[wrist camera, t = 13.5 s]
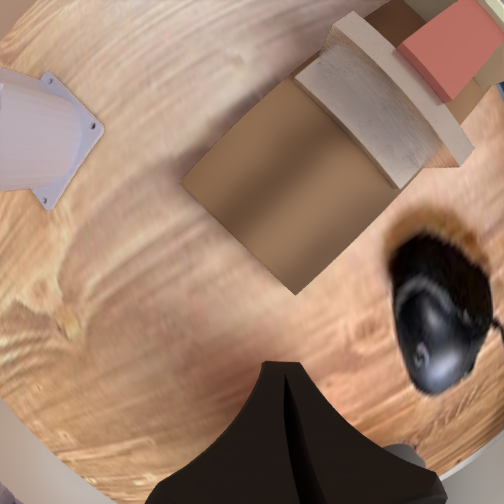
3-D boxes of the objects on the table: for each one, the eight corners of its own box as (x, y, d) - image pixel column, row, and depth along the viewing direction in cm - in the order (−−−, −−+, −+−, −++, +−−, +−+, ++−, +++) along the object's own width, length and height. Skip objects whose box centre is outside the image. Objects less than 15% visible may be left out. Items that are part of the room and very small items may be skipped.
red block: (363, 79, 15) (402, 42, 9) (429, 25, 13) (469, -8, 7) (400, 120, 15) (452, 100, 10) (460, 59, 14) (506, 36, 8)
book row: (402, -1, 13) (440, -45, 6) (430, -17, 12) (466, -54, 5) (482, 89, 14) (539, 72, 7) (502, 64, 13) (551, 46, 6)
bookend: (292, 81, 15) (304, 45, 10) (331, 50, 14) (352, 10, 9) (394, 189, 16) (438, 193, 11) (426, 153, 16) (474, 148, 11)
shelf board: (184, 182, 18) (179, 182, 17) (425, -17, 13) (431, -22, 12) (293, 289, 19) (295, 295, 18) (499, 67, 14) (507, 64, 13)
